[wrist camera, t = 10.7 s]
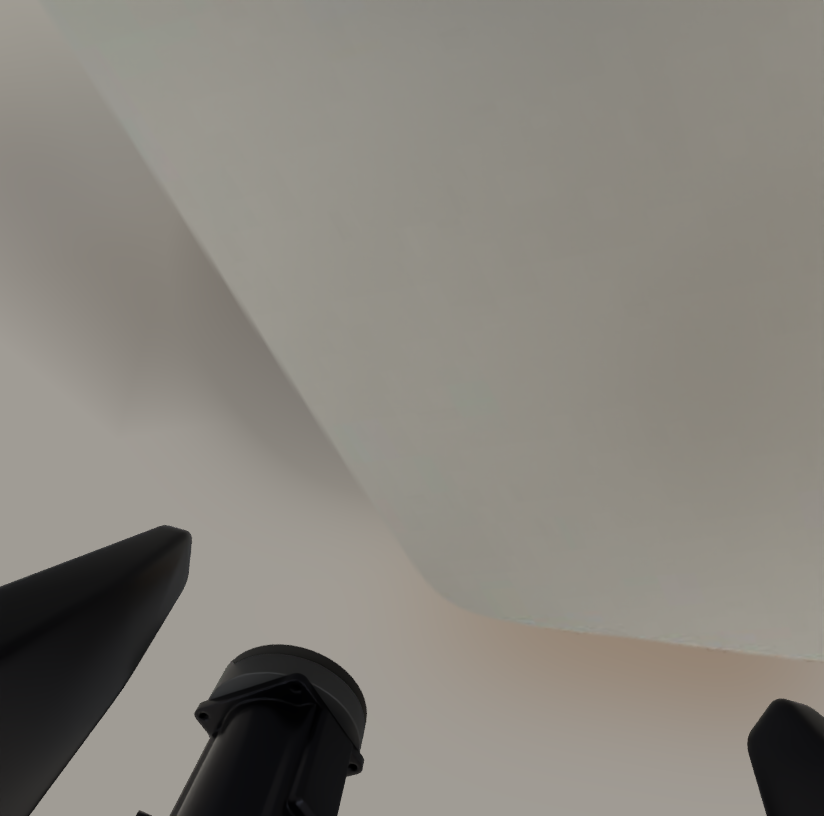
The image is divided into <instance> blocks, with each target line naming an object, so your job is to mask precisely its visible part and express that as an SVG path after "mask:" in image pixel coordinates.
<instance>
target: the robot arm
mask: <svg viewBox="0 0 824 816" xmlns="http://www.w3.org/2000/svg"><path fill="white" fill-rule="evenodd" d="M191 544H192V537H191V534H190V533H189V532H188V531H186V530H182V529H179V528H175V527H172V526H167V525H163V526H159V527H157V528H154V529H151V530H149V531H146V532H144V533H141V534H138V535H135V536H133V537H130V538H127V539H125V540H122V541H119V542H117V543H114V544H112V545H109V546H106V547H104V548H101V549H99V550H96V551H93V552H91V553H88V554H85V555H83V556H80V557H78V558H75V559H72V560H69V561H67V562H64V563H62V564H59V565H56V566H54V567H51V568H48V569H46V570H43V571H40V572H38V573H35V574H32V575H30V576H27V577H24V578H22V579H19V580H17V581H14V582H11V583H9V584H6V585H3V586H1V587H0V816H29V815H30V814H31V813H32V811H33V810H34V809H35V807H36V806H37V805H38V803H39V802H40V800H41V799H42V798H43V796H44V795H45V794H46V792H47V791H48V790H49V788H50V787H51V785H52V784H53V783H54V782H55V780H56V779H57V778H58V776H59V775H60V774H61V772H62V771H63V769H64V768H65V767H66V765H67V764H68V763H69V761H70V760H71V759H72V757H73V756H74V755H75V753H76V752H77V751H78V749H79V748H80V747H81V745H82V744H83V743H84V741H85V740H86V738H87V737H88V736H89V734H90V733H91V732H92V730H93V729H94V728H95V726H96V725H97V723H98V722H99V721H100V720H101V718H102V717H103V716H104V714H105V713H106V712H107V710H108V709H109V707H110V706H111V705H112V703H113V702H114V701H115V699H116V698H117V696H118V695H119V694H120V692H121V691H122V689H123V688H124V686H125V685H126V683H127V682H128V680H129V678H130V677H131V675H132V674H133V672H134V671H135V669H136V667H137V666H138V664H139V662H140V661H141V659H142V657H143V655H144V654H145V652H146V651H147V649H148V647H149V646H150V644H151V642H152V641H153V639H154V637H155V635H156V634H157V632H158V631H159V629H160V627H161V626H162V624H163V622H164V621H165V619H166V617H167V616H168V614H169V612H170V611H171V609H172V607H173V606H174V604H175V603H176V601H177V599H178V597H179V596H180V594H181V593H182V591H183V589H184V587H185V584H186V582H187V578H188V574H189V563H190V555H191ZM195 717H196V719H197V720H198V722H199V723H200V724H201V725H202V727H203V728H204V729H205V730H206V731H207V733H208V734H209V735H210V736H211V737H210V739H209V741H208V743H207V745H206V747H205V749H204V751H203V753H202V754H201V756H200V758H199V760H198V762H197V764H196V766H195V768H194V770H193V772H192V774H191V776H190V778H189V779H188V781H187V783H186V785H185V787H184V789H183V791H182V793H181V795H180V797H179V799H178V801H177V803H176V805H175V806H174V808H173V810H172V812H171V814H170V816H337V814H338V810H339V806H340V801H341V797H342V793H343V788H344V784H345V779H346V777H347V776H351V775H355V774H358V773H360V772H361V771H362V769H363V763H364V759H363V756H362V755H361V754H360V752H359V751H358V749H357V748H356V746H355V745H354V744H353V742H352V741H351V739H350V738H349V737H348V735H347V734H346V732H345V731H344V729H343V728H342V727H341V725H340V724H339V722H338V721H337V720H336V718H335V717H334V715H333V714H332V712H331V711H330V710H329V708H328V707H327V705H326V704H325V703H324V701H323V700H322V698H321V697H320V695H319V694H318V693H317V691H316V690H315V688H314V687H313V686H312V684H311V683H310V681H309V680H308V678H307V677H306V676H305V675H303V674H301V673H292V674H289V675H286V676H283V677H280V678H277V679H274V680H270V681H267V682H264V683H261V684H258V685H255V686H252V687H248V688H245V689H242V690H239V691H236V692H233V693H229V694H226V695H223V696H220V697H217V698H214V699H211V700H207V701H204V702H202V703H200V705H199V707H198V708H197V710H196V711H195ZM747 745H748V752H749V756H750V760H751V763H752V767H753V770H754V774H755V777H756V780H757V784H758V787H759V791H760V794H761V798H762V801H763V804H764V808H765V811H766V814H767V816H824V717H823V716H822V715H820V714H819V713H818V712H816V711H815V710H814V709H812V708H811V707H809V706H807V705H804V704H801V703H797V702H794V701H790V700H787V699H777V700H775V701H773V702H772V703H771V704H770V705H769V706H768V708H767V709H766V711H765V712H764V713H763V715H762V716H761V718H760V719H759V721H758V722H757V723H756V725H755V726H754V727H753V729H752V730H751V732H750V734H749V736H748V743H747ZM136 816H152V815H149V814H147V813H145V812H142V811H139V812H138V813H137V815H136Z"/></svg>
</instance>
